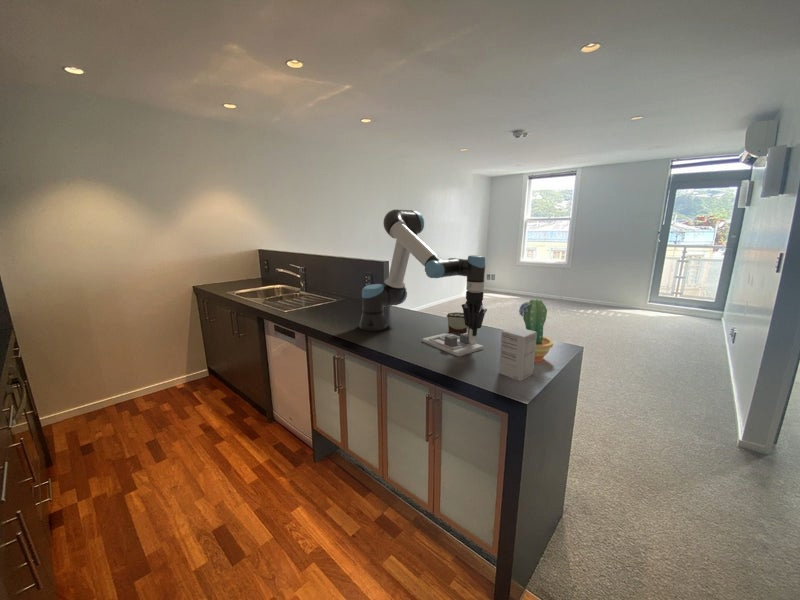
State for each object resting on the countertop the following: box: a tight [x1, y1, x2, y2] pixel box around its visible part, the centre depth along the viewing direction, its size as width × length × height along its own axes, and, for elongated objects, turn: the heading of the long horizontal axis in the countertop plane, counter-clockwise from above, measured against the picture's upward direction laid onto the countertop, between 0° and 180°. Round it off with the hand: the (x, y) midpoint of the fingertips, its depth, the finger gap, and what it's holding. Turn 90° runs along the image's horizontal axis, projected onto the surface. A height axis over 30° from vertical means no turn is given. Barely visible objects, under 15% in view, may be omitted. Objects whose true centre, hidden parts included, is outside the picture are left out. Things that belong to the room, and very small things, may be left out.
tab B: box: [459, 332, 469, 344], centre depth 154 cm, size 4×4×5 cm
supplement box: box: [498, 326, 537, 382], centre depth 124 cm, size 10×9×17 cm
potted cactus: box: [518, 298, 554, 363], centre depth 139 cm, size 15×15×25 cm
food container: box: [446, 311, 468, 335], centre depth 176 cm, size 12×6×10 cm, turn 65°
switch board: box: [422, 332, 484, 357], centre depth 156 cm, size 24×16×2 cm, turn 36°
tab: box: [444, 334, 457, 347], centre depth 151 cm, size 4×4×5 cm
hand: (471, 342), depth 151 cm, fingers closed
